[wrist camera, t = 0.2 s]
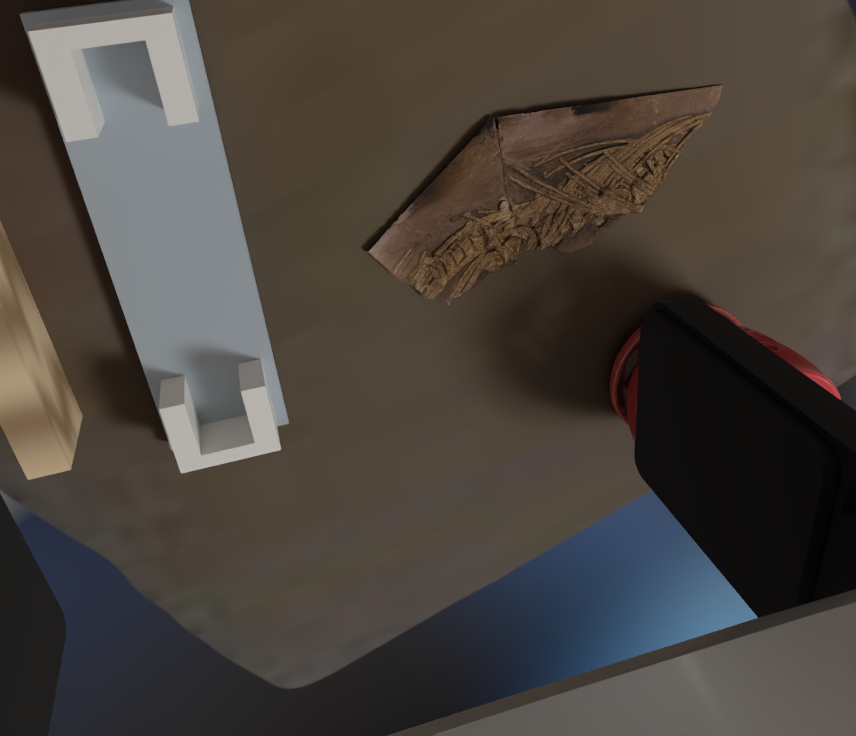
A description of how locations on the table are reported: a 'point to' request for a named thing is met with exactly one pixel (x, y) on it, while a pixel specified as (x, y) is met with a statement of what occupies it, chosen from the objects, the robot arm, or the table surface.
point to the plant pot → (628, 366)
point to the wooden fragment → (538, 187)
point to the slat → (32, 380)
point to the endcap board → (165, 218)
